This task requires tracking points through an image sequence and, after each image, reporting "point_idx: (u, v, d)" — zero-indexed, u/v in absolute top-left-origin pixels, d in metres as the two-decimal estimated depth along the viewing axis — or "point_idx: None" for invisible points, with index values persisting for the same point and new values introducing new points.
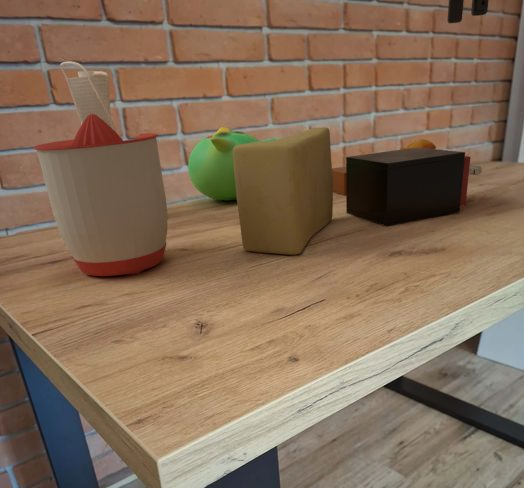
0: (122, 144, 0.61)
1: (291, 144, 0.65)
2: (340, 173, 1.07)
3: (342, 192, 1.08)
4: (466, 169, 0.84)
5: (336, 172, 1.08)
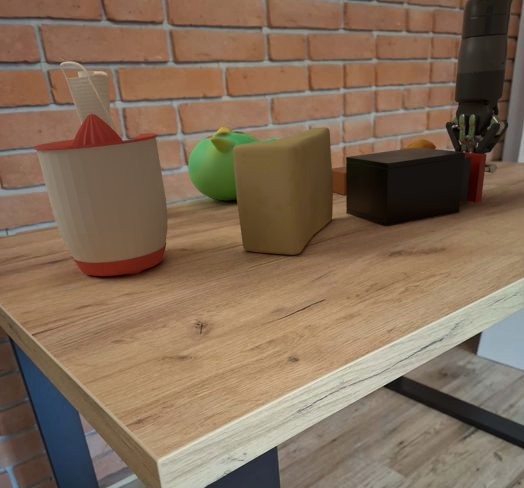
0: (122, 144, 0.61)
1: (291, 144, 0.65)
2: (340, 173, 1.07)
3: (342, 192, 1.08)
4: (482, 166, 0.85)
5: (336, 172, 1.08)
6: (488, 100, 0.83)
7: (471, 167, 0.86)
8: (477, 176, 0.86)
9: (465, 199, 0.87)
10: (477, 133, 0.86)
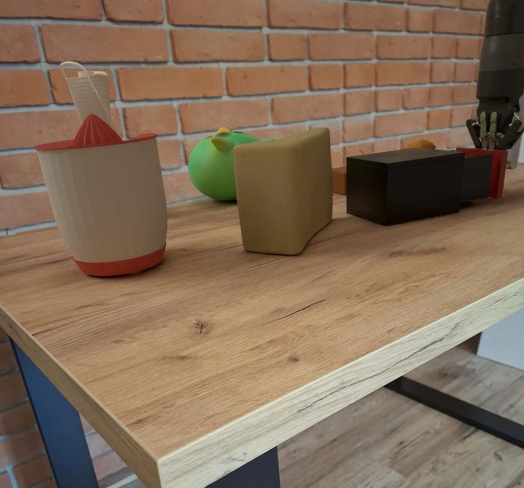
0: (122, 144, 0.61)
1: (291, 144, 0.65)
2: (340, 173, 1.07)
3: (342, 192, 1.08)
4: (503, 163, 0.86)
5: (336, 172, 1.08)
6: (510, 98, 0.84)
7: (492, 164, 0.88)
8: (498, 173, 0.87)
9: (486, 195, 0.88)
10: (498, 130, 0.88)
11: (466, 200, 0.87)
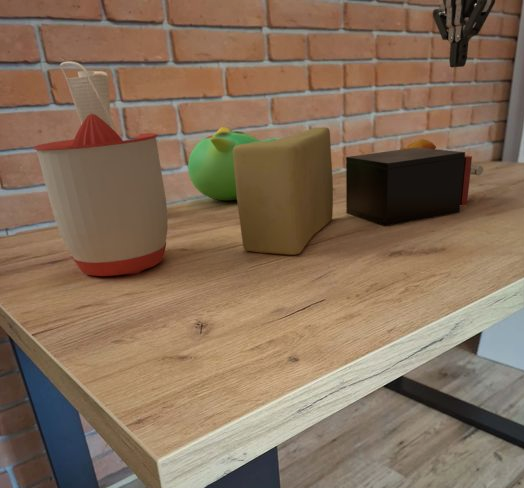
0: (122, 144, 0.61)
1: (291, 144, 0.65)
2: None
3: None
4: (467, 168, 0.84)
5: None
6: None
7: None
8: None
9: None
10: (464, 14, 0.85)
11: None
